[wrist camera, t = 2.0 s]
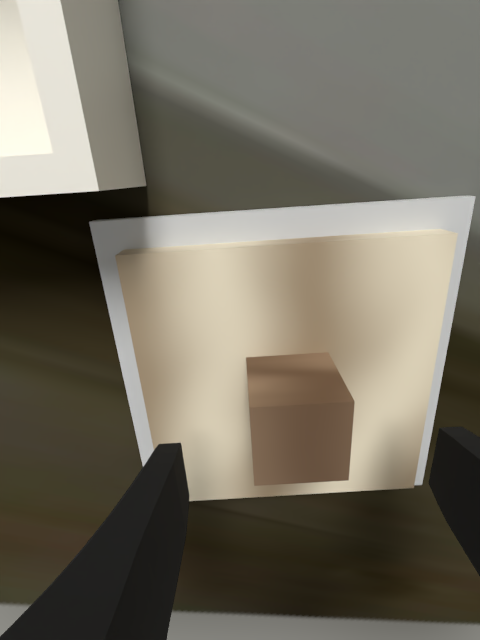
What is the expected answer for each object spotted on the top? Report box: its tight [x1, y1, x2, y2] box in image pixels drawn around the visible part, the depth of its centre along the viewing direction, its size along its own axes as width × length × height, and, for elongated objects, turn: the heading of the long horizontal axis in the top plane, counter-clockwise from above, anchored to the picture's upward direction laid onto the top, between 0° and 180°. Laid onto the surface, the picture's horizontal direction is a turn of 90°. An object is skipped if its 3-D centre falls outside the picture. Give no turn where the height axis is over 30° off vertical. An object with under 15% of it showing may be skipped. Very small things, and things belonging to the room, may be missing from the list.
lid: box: [115, 229, 458, 501], centre depth 12 cm, size 11×11×4 cm
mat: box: [89, 196, 475, 485], centre depth 14 cm, size 13×13×1 cm
